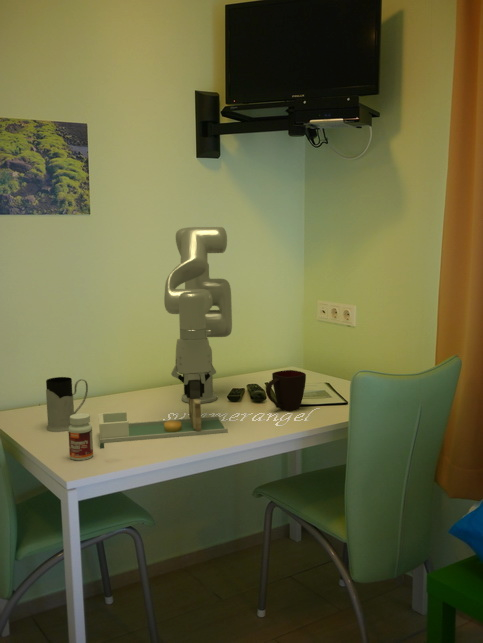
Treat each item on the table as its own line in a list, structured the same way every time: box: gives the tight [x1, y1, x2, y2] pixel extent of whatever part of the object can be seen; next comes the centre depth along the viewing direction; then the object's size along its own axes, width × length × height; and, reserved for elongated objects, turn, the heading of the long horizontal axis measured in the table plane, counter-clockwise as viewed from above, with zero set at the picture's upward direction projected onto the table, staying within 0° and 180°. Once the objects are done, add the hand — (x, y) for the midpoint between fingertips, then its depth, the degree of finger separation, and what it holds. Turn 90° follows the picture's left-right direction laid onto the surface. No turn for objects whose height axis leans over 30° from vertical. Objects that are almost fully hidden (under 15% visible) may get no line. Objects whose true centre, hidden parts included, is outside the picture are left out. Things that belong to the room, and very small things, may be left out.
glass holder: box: [45, 376, 89, 433], centre depth 204 cm, size 9×14×15 cm, turn 136°
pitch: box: [98, 410, 229, 449], centre depth 193 cm, size 14×36×6 cm, turn 103°
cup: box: [265, 369, 307, 412], centre depth 218 cm, size 10×14×12 cm
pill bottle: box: [67, 412, 94, 461], centre depth 176 cm, size 6×6×11 cm
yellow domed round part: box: [164, 421, 181, 432], centre depth 194 cm, size 5×5×2 cm
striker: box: [188, 380, 202, 431], centre depth 195 cm, size 14×3×14 cm, turn 13°
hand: (194, 395), depth 194 cm, fingers closed on striker, 3 cm apart
